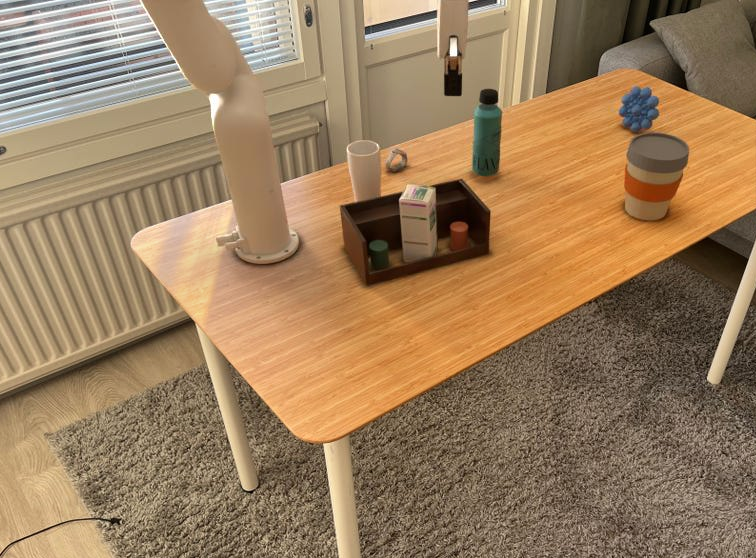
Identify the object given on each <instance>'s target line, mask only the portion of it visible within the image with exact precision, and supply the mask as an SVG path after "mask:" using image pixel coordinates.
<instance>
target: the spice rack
mask: <svg viewBox="0 0 756 558" xmlns="http://www.w3.org/2000/svg"><path fill="white" fill-rule="evenodd" d="M429 186H430V187H435V190H436V217H437V240H438V239H443V238H446V237H447V238H448V237H450V225H451V224H452V223H454V222H464V223H466V224H467V225H468V236H469V237H471V239H472V240H473V241H474V242H475V244H476V245H472V246H468V247H467V248H464V249H460V250H456V251H454V250H452V251H449V252H443V253H441V254H436V255H435V256H432V257H428V258H424V259H421V260H417V261H413V262H409V263H408V262H404V263H401V264H397V265H394V266H389V268H385V269H382V270H378V271H374V270H373V271H371V272H370V267H369V258H368V257H370V251H369V244H370V243H371V242H373V241H376V240H382V241H385V242H386V243H387V244H388V252H389V251H394V250H399V249H401V248H402V249H403V246H402V233H401V219H400V205H399V199H400V197H401V195H402V193H403V192H404V190H403V191H399V192H394V193H390V194H384V195H381V196H380V197H376V198H371V199H367V200H362V201H358V202H355V201H353V202H350V203H345V204H344V203H343V204H340V205H339V212H340V213H339V214H340V221H341V229H342V237H343V245H344V250H345V251H346V253H347V255H348V257H349V258H350V260H351V263H352V264H353V265H354V267H355V269H356V270H357V272H358V274H359V275H360V278H361V279H362V281H363V282H364V284H365V286H371V285H375V284H378V283H382V282H385V281H389V280H394V279H396V278H397V279H398V278H400V277H406V276H408V275H412V274H417V273H419V272H423V271H428V270H431V269H435V268H439V267H443V266H446V265H447V266H448V265H450V264H455V263H458V262H462V261H466V260H470V259H475V258H478V257H481V256H485V255H488V254H490V233H491V215H492V214H491V213H492V211H491V210H490V208H489V207H488V206H487V205H486V203H484V202H483V200H482V199H481V198H480V197H479V195H477V193H475V191H474V190H473V189H472V187H470V186H469V184H468V183H467V182H466V181H465V180H464V179H463V178H457V179H453V180H448V181H443V182H439V183H435V184H430V185H429Z"/></svg>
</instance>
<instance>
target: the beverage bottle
mask: <svg viewBox="0 0 756 558" xmlns="http://www.w3.org/2000/svg"><path fill="white" fill-rule="evenodd" d="M478 101H479V103H480V104H479V105H478V106H477V107H475V109H474V110H473V140H472V147H471V148H472V150H471V154H472V159H471V169H472V172H473V174H475V175H477V176H480V177H492V176H495V175H496V174H498V172H499V170H500V167H501V166H500V161H501V141H502V134H503V133H502V117H503V111H502V109H501V107H500V106H498V105H497V104H498V103H499V91H498V90H497V89H493V88H484V89H481V90H480V91H479V97H478Z"/></svg>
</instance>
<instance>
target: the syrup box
mask: <svg viewBox="0 0 756 558" xmlns="http://www.w3.org/2000/svg"><path fill="white" fill-rule="evenodd" d="M403 191H404V192H403ZM403 191H402V192H403V193H402V195H401V197H400V199H399V205H400V219H401V233H402V246H403V247H402V258H403V263H409V262H413V261H417V260H421V259H424V258H428V257H432V256H436V255H437V252H438V247H439V246H438V239H437V217H436V190H435V187H430V185H423V184H410V183H407V185H406V187H405V189H404V190H403Z"/></svg>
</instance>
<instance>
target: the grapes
mask: <svg viewBox="0 0 756 558" xmlns="http://www.w3.org/2000/svg"><path fill="white" fill-rule="evenodd" d="M659 103H660V99H659V97H658V96H657V95H653V91H652V89H651V88H650V87H648V86H646V87H643V88H640V86H634V87H632V88H631V89H630V91H629V93H626V94H624V95H623V96H622V97H621V104H622V105H621V106H620V107H619V109H618V115H619V116H620V117H622V118H623V119H622V126H623V127H624V128H630V129H631V132H633V133H640V132H641V131H642V130H644V131H647V130H650V129H651V128H652V126H653V121H655V120H657V119H658V118H659V116H660V110H659V109H658V108H657V106H659Z"/></svg>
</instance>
